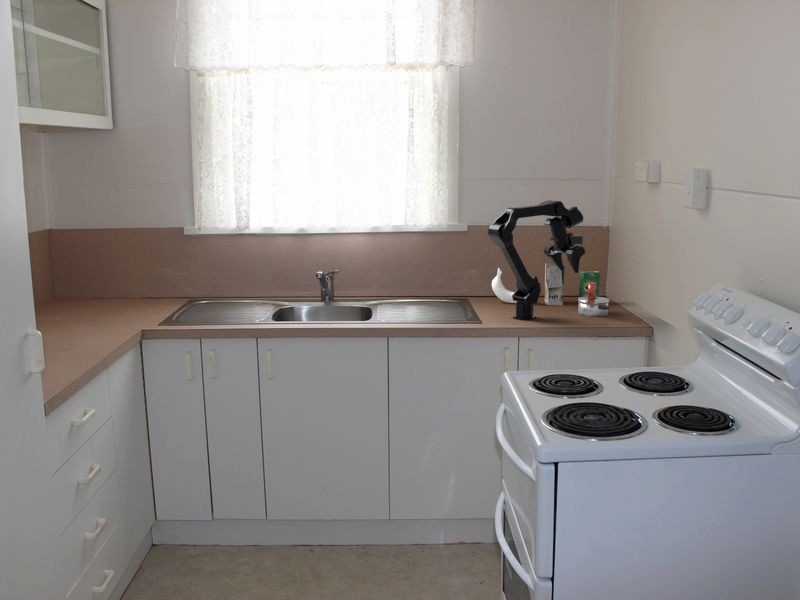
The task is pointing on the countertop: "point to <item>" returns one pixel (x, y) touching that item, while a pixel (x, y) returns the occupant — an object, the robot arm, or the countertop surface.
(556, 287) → the coffee box
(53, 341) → the countertop surface
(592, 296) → the lid
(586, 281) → the coffee box
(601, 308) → the pot
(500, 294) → the banana
